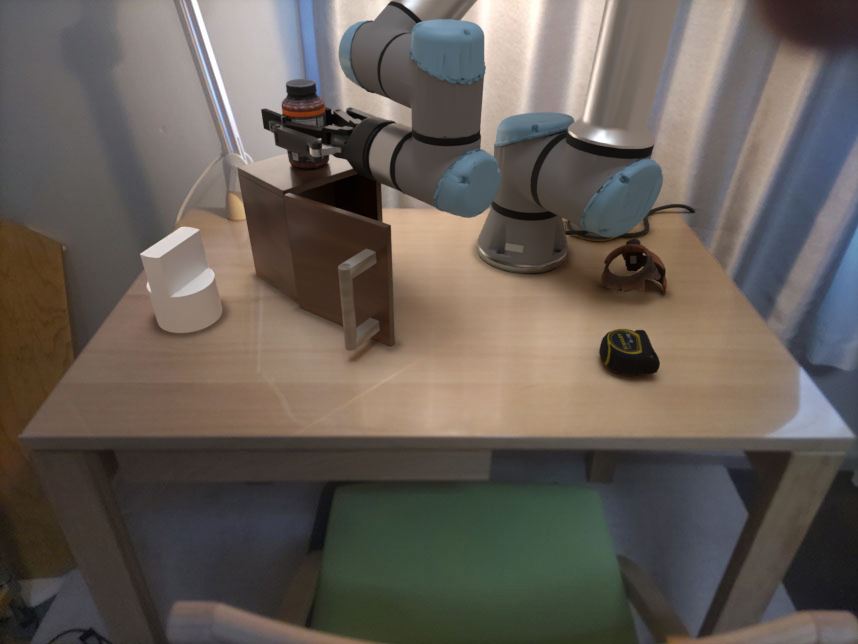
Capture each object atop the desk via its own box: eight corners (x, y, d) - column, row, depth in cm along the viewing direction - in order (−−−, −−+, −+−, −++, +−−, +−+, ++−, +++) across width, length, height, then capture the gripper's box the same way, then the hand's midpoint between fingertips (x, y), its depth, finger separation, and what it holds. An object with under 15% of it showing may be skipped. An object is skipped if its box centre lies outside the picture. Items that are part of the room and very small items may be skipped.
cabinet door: (363, 369, 78) (354, 246, 67) (270, 325, 85) (249, 210, 75) (395, 343, 82) (391, 224, 72) (303, 304, 90) (288, 192, 80)
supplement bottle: (293, 155, 91) (284, 76, 84) (333, 156, 91) (326, 77, 84) (284, 169, 86) (273, 86, 79) (326, 170, 86) (318, 87, 79)
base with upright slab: (197, 338, 83) (177, 262, 76) (143, 326, 85) (119, 251, 78) (234, 305, 90) (219, 232, 83) (184, 294, 92) (165, 222, 85)
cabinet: (384, 265, 100) (380, 159, 90) (298, 304, 90) (282, 190, 80) (340, 241, 107) (331, 140, 97) (256, 274, 97) (236, 167, 87)
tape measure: (657, 382, 76) (664, 359, 74) (602, 380, 76) (607, 356, 74) (643, 349, 82) (649, 326, 80) (593, 347, 82) (597, 325, 80)
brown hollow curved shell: (676, 308, 91) (665, 272, 85) (613, 324, 95) (598, 291, 89) (662, 253, 99) (650, 217, 93) (604, 269, 102) (590, 236, 97)
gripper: (329, 203, 71) (230, 154, 84) (442, 164, 82) (338, 126, 95) (323, 140, 67) (220, 99, 80) (443, 108, 78) (334, 76, 91)
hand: (284, 114), depth 88 cm, fingers closed on supplement bottle, 6 cm apart
